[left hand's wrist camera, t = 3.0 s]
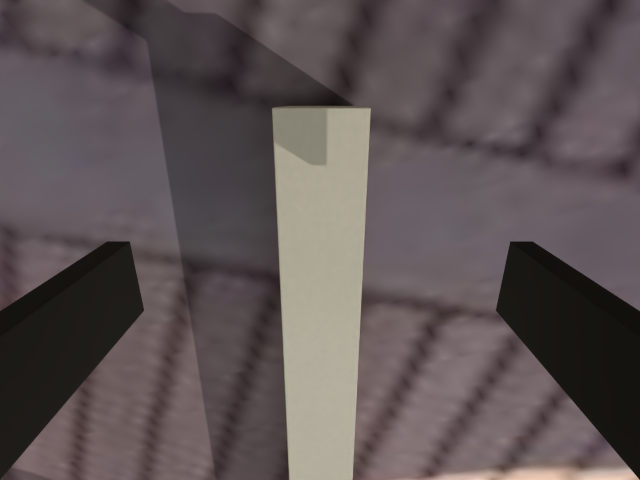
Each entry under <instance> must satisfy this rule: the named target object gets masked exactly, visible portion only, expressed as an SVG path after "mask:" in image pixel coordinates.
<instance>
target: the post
mask: <svg viewBox="0 0 640 480" xmlns="http://www.w3.org/2000/svg"><path fill="white" fill-rule="evenodd" d="M370 111H371V109H370V108H368V107H359V106H283V107H275V108H272V119H273V141H274V162H275V184H276V205H277V227H278V248H279V270H280V291H281V313H282V334H283V356H284V377H285V399H286V420H287V442H288V463H289V480H352V478H353V457H354V437H355V417H356V396H357V376H358V356H359V335H360V315H361V295H362V274H363V254H364V233H365V213H366V193H367V172H368V152H369V132H370Z"/></svg>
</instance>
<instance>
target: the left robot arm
mask: <svg viewBox="0 0 640 480" xmlns="http://www.w3.org/2000/svg"><path fill="white" fill-rule="evenodd" d="M143 311H144V308H143V303H142V298H141V293H140V289H139V284H138V279H137V274H136V270H135V265H134V260H133V255H132V251H131V246H130V242H106V243H104V244H103V245H101V246H100V247H98V248H97V249H95V250H94V251H92V252H91V253H89V254H88V255H86V256H84V257H83V258H81V259H80V260H78V261H77V262H75V263H74V264H72V265H71V266H69V267H68V268H66V269H64V270H63V271H61V272H60V273H58V274H57V275H55V276H54V277H52V278H51V279H49V280H48V281H46V282H45V283H43V284H41V285H40V286H38V287H37V288H35V289H34V290H32V291H31V292H29V293H28V294H26V295H25V296H23V297H21V298H20V299H18V300H17V301H15V302H14V303H12V304H11V305H9V306H8V307H6V308H5V309H3V310H1V311H0V479H1V478H2V477H3V476H4V475H5V473H6V472H7V471H8V470H9V469H10V468H11V466H12V465H13V464H14V463H15V462H16V460H17V459H18V458H19V457H20V456H21V455H22V453H23V452H24V451H25V450H26V449H27V448H28V446H29V445H30V444H31V443H32V442H33V440H34V439H35V438H36V437H37V436H38V435H39V433H40V432H41V431H42V430H43V429H44V428H45V426H46V425H47V424H48V423H49V422H50V420H51V419H52V418H53V417H54V416H55V415H56V413H57V412H58V411H59V410H60V409H61V408H62V406H63V405H64V404H65V403H66V402H67V400H68V399H69V398H70V397H71V396H72V395H73V393H74V392H75V391H76V390H77V389H78V388H79V386H80V385H81V384H82V383H83V382H84V380H85V379H86V378H87V377H88V376H89V375H90V373H91V372H92V371H93V370H94V369H95V368H96V366H97V365H98V364H99V363H100V362H101V360H102V359H103V358H104V357H105V356H106V355H107V353H108V352H109V351H110V350H111V349H112V348H113V346H114V345H115V344H116V343H117V342H118V340H119V339H120V338H121V337H122V336H123V335H124V333H125V332H126V331H127V330H128V329H129V328H130V326H131V325H132V324H133V323H134V322H135V320H136V319H137V318H138V317H139V316H140V315H141V313H142V312H143ZM496 311H497V312H498V313H499V315H500V316H501V317H502V318H503V319H504V320H505V322H506V323H507V324H508V325H509V326H510V328H511V329H512V330H513V331H514V332H515V333H516V335H517V336H518V337H519V338H520V339H521V340H522V342H523V343H524V344H525V345H526V346H527V348H528V349H529V350H530V351H531V352H532V353H533V355H534V356H535V357H536V358H537V359H538V360H539V362H540V363H541V364H542V365H543V366H544V368H545V369H546V370H547V371H548V372H549V373H550V375H551V376H552V377H553V378H554V379H555V380H556V382H557V383H558V384H559V385H560V386H561V388H562V389H563V390H564V391H565V392H566V393H567V395H568V396H569V397H570V398H571V399H572V400H573V402H574V403H575V404H576V405H577V406H578V408H579V409H580V410H581V411H582V412H583V413H584V415H585V416H586V417H587V418H588V419H589V420H590V422H591V423H592V424H593V425H594V426H595V428H596V429H597V430H598V431H599V432H600V433H601V435H602V436H603V437H604V438H605V439H606V440H607V442H608V443H609V444H610V445H611V446H612V448H613V449H614V450H615V451H616V452H617V453H618V455H619V456H620V457H621V458H622V459H623V460H624V462H625V463H626V464H627V465H628V466H629V468H630V469H631V470H632V471H633V472H634V473H635V475H636V476H637V477H638V478H639V479H640V311H639V310H637V309H635V308H634V307H632V306H631V305H629V304H628V303H626V302H625V301H623V300H622V299H620V298H619V297H617V296H615V295H614V294H612V293H611V292H609V291H608V290H606V289H605V288H603V287H602V286H600V285H599V284H597V283H595V282H594V281H592V280H591V279H589V278H588V277H586V276H585V275H583V274H582V273H580V272H579V271H577V270H575V269H574V268H572V267H571V266H569V265H568V264H566V263H565V262H563V261H562V260H560V259H559V258H557V257H555V256H554V255H552V254H551V253H549V252H548V251H546V250H545V249H543V248H542V247H540V246H539V245H537V244H536V243H534V242H510V246H509V251H508V255H507V260H506V265H505V270H504V274H503V279H502V284H501V289H500V293H499V298H498V303H497V308H496Z"/></svg>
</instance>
